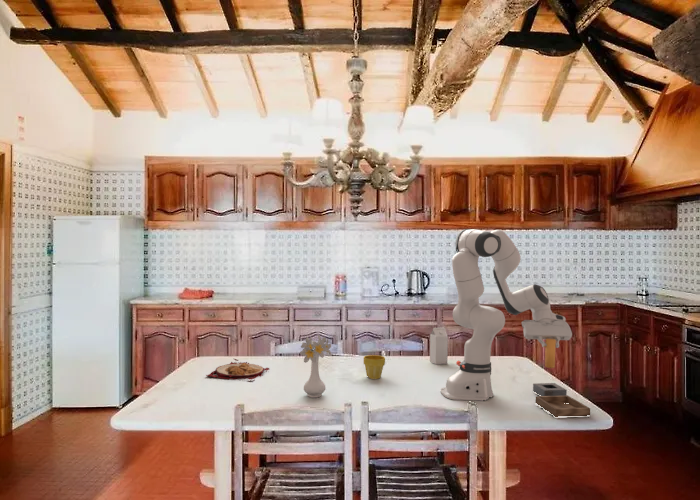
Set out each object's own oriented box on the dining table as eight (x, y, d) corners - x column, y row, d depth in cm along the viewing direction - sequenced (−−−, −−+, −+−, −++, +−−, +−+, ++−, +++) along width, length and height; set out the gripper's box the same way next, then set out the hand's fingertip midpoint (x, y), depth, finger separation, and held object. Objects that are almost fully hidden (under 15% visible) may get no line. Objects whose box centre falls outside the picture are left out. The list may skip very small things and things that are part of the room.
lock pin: (547, 368, 222) (548, 340, 222) (543, 365, 226) (544, 338, 226) (556, 368, 223) (557, 340, 223) (551, 365, 227) (552, 338, 227)
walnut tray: (555, 418, 197) (555, 409, 197) (535, 404, 213) (535, 396, 213) (590, 417, 199) (590, 408, 198) (567, 403, 214) (567, 395, 214)
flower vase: (296, 402, 211) (297, 341, 211) (303, 389, 230) (303, 333, 229) (328, 403, 211) (329, 342, 210) (332, 390, 229) (333, 333, 228)
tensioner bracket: (544, 399, 220) (544, 390, 219) (533, 392, 229) (533, 383, 229) (566, 399, 221) (566, 389, 221) (554, 391, 231) (554, 383, 231)
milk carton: (429, 361, 284) (430, 326, 283) (441, 360, 286) (441, 326, 286) (435, 364, 277) (436, 329, 277) (447, 363, 279) (448, 328, 279)
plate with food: (204, 379, 247) (204, 371, 247) (231, 364, 272) (231, 357, 272) (252, 384, 240) (252, 377, 240) (275, 369, 266) (275, 362, 266)
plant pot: (383, 374, 256) (384, 354, 256) (385, 380, 246) (386, 359, 246) (362, 374, 256) (363, 354, 256) (364, 380, 245) (364, 359, 245)
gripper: (522, 315, 231) (528, 341, 222) (568, 316, 231) (576, 343, 221) (518, 324, 236) (524, 350, 226) (564, 325, 235) (572, 351, 226)
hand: (551, 346), depth 224 cm, fingers closed on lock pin, 4 cm apart
